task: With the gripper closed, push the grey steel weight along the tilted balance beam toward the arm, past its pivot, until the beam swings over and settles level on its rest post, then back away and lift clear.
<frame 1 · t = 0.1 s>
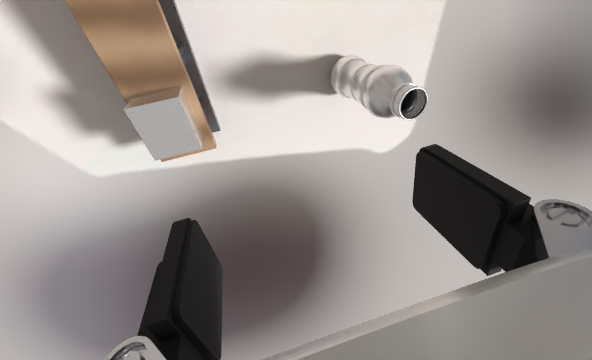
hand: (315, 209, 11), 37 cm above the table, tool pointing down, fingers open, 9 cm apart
steel weight: (170, 117, 33), point 9 cm above the table, tilted 7°, touching balance beam
balance beam: (148, 69, 30), point 9 cm above the table, hinge at 6.6°, touching steel weight
plastic bottle: (343, 74, 45), on the table
beam stand: (163, 60, 37), on the table
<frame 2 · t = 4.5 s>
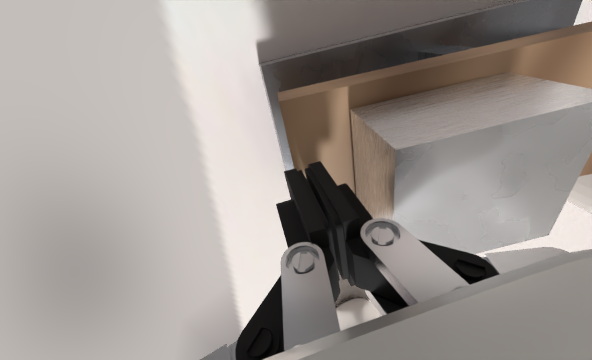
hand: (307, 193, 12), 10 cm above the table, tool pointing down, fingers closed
steel weight: (423, 152, 12), point 9 cm above the table, touching gripper
balance beam: (519, 122, 13), point 9 cm above the table, hinge at 6.6°
plastic bottle: (348, 305, 35), on the table
beam stand: (417, 87, 20), on the table
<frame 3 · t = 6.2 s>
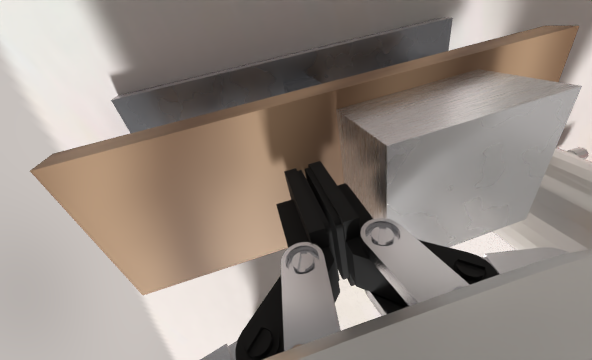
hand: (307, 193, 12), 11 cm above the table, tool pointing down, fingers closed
steel weight: (406, 148, 13), point 9 cm above the table, touching balance beam, gripper
balance beam: (339, 163, 13), point 9 cm above the table, hinge at -1.2°, touching steel weight
beam stand: (299, 114, 21), on the table
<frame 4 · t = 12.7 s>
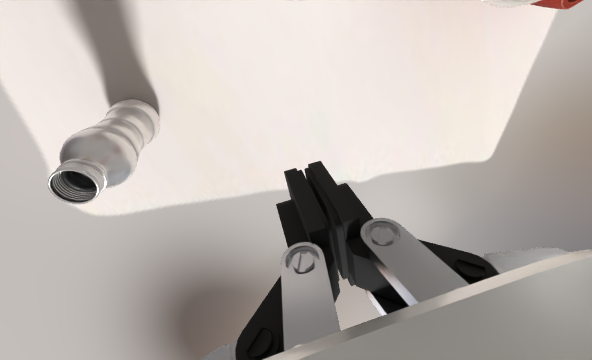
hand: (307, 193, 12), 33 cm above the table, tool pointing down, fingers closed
plastic bottle: (139, 117, 39), on the table
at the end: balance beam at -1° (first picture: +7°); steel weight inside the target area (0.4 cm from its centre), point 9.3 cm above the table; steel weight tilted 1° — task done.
